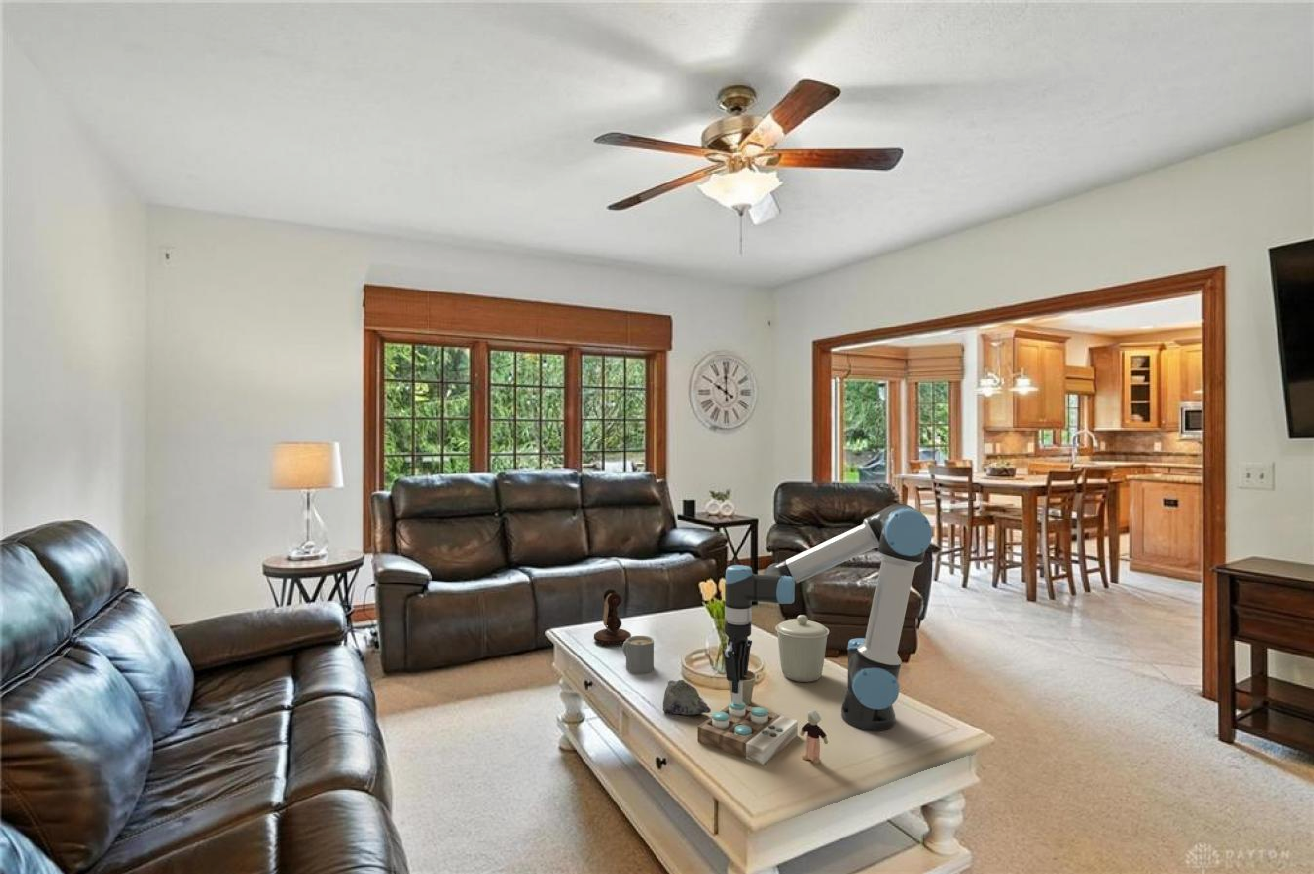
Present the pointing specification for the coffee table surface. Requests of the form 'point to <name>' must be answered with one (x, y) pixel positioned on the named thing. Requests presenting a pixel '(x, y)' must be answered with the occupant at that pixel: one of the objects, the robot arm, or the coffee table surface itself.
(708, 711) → the mineral rock
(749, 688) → the flower pot
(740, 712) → the button
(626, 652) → the coffee mug
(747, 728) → the button
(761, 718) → the button
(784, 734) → the button board
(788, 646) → the canister
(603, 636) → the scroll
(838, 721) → the coffee table surface
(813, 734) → the grandmother figurine
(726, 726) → the button
